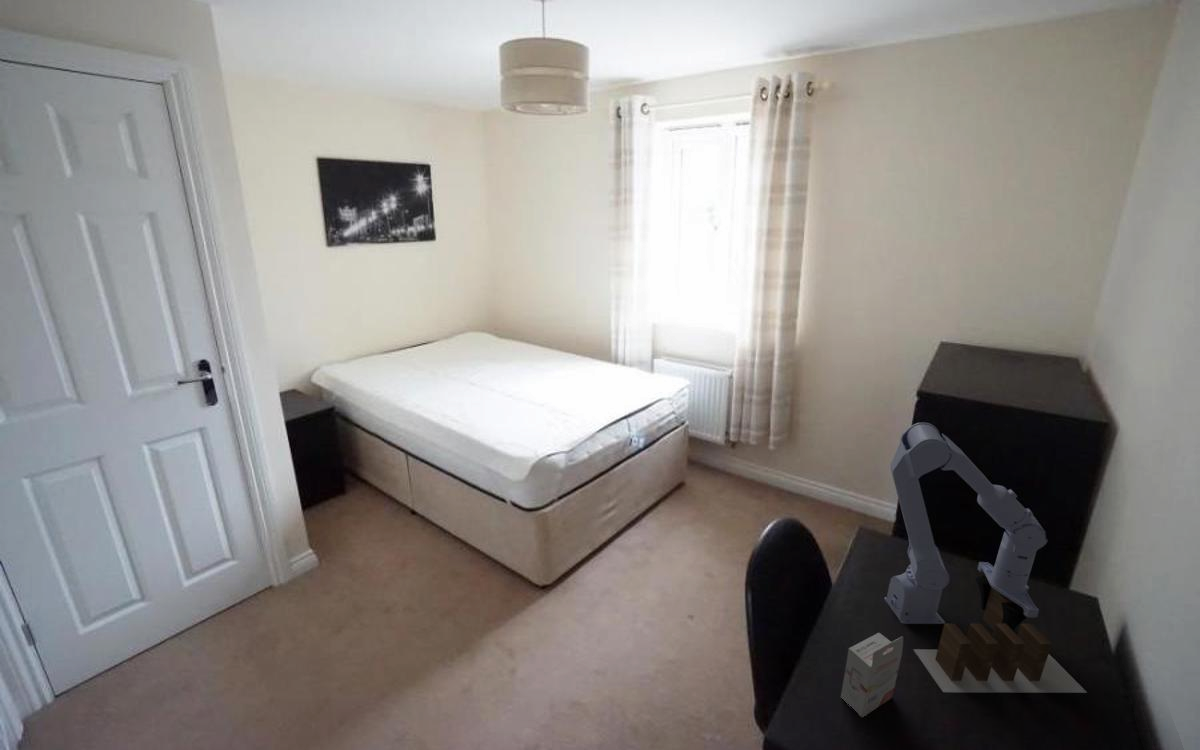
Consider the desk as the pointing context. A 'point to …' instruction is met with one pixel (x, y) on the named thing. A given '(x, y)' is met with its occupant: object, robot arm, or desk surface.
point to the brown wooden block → (994, 608)
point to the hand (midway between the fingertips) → (997, 619)
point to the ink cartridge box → (871, 673)
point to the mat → (1050, 681)
